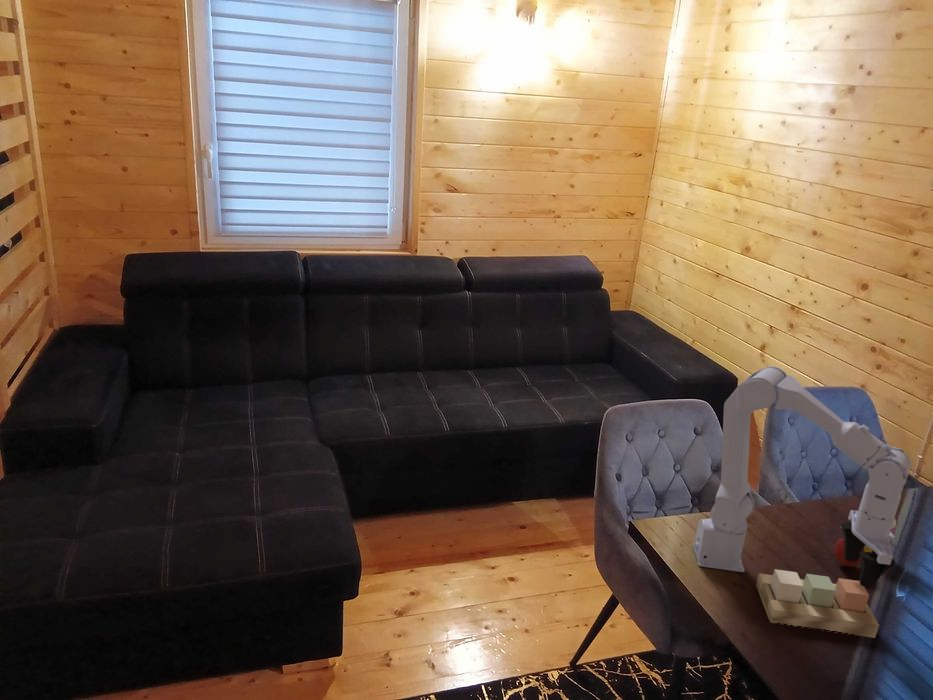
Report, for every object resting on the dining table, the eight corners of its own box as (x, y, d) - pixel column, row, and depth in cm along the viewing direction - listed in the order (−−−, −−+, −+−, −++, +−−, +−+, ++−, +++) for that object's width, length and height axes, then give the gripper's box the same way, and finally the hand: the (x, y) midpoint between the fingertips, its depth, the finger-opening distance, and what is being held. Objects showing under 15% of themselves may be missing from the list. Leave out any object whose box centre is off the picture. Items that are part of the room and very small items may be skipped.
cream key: (776, 599, 134) (780, 582, 133) (770, 585, 138) (774, 569, 137) (798, 603, 134) (803, 586, 132) (792, 588, 138) (796, 572, 136)
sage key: (808, 604, 134) (813, 587, 132) (801, 590, 137) (806, 573, 136) (831, 607, 133) (836, 590, 132) (823, 593, 137) (828, 576, 136)
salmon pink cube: (840, 609, 133) (846, 592, 132) (833, 594, 137) (838, 578, 135) (863, 612, 132) (869, 595, 131) (855, 597, 136) (860, 581, 135)
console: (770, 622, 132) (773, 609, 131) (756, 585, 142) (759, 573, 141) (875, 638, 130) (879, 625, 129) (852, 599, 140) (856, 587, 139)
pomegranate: (863, 576, 148) (873, 545, 145) (834, 571, 149) (844, 540, 146) (854, 560, 153) (864, 529, 150) (827, 555, 154) (836, 524, 151)
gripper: (918, 537, 121) (896, 600, 125) (883, 493, 134) (864, 552, 139) (875, 531, 121) (855, 595, 126) (844, 489, 135) (828, 547, 140)
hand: (858, 572), depth 132 cm, fingers open, 7 cm apart
